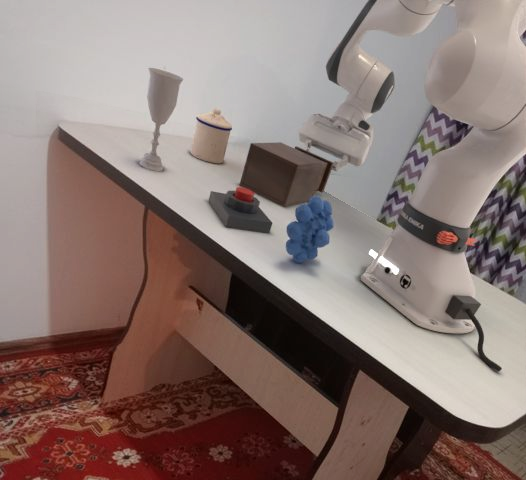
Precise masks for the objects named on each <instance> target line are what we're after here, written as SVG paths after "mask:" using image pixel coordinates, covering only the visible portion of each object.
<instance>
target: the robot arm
mask: <svg viewBox="0 0 526 480" xmlns="http://www.w3.org/2000/svg"><path fill="white" fill-rule="evenodd" d="M443 6H445V7H453V8H454V15H455V17H454V18H455V19H454V20H455V32H453V33H452V34H451V35H449V36H448V37H447V38H445V39H444V40H443V41H442V42H441V43H440V44H439V46H438V47H437V48H436V49H435V51H434V52H433V53H432V55H431V58H430V59H429V62H428V64H427V66H426V69H425V73H424V82H423V87H424V96H425V98H426V100H427V102H428V103H429V104H430V105H432V106H433V107H435V108H436V109H437V110H439V112H441V113H443V114H444V115H446V117H448V118H451V120H455V121H458V122H461V123H463V124H467V125H469V126H472V128H471V129H470V131H469V132H468V133H467V135H466V136H464V137H463V139H462V140H460V141H459V142H458V143H456V144H455V145H454V146H452V147H449V148H446V149H443V150H441V151H438V152H436V153H435V154H434V155H433V156H431V157H430V159H429V160H428V161H427V162H426V165H425V167H424V169H423V170H422V173H421V175H420V178H419V180H418V181H417V184H416V185H415V188H414V190H413V192H412V194H411V196H410V198H409V199H408V200H407V201H405V203H404V205H403V206H402V208H401V209H400V211H399V215H398V217H397V219H396V220H397V223H396V225H395V227H394V229H393V231H392V232H391V233H390V234H389V236H388V237H387V238H386V239H385V241H384V243H383V244H382V246H381V248H380V250H378V252H376V251H374V250H373V249H370V250H369V252H368V255H370V256H371V257H373V260H372V262H370V263H369V265H368V267H366V269H365V271H364V273H362V275H361V277H360V281H361V282H362V283H364V284H365V285H366V286H367V287H369V288H370V289H371V290H372V291H373V292H374V293H376V294H377V295H378V296H379V297H381V298H382V299H384V300H385V301H386V302H387V303H389V304H390V305H391V306H392V307H393V308H395V309H396V310H397V311H398V312H400V313H401V314H402V315H403V316H405V317H406V318H407V319H408V320H410V321H411V322H412V323H414V324H415V325H416V326H418V327H420V328H424V329H425V330H429V331H434V332H439V333H446V334H467V333H471V332H473V331H474V330H475V329H476V331H477V335H478V342H477V347H476V348H477V349H476V350H477V353H478V356H479V358H480V359H481V360H482V361H483V362H484V363H485V364H486V365H488V366H489V367H490V368H492V369H494V370H495V371H496V372H499V373H500V372H501V370H502V369H503V368H502V367H501V366H500V365H499V364H497V363H496V362H495V361H493V360H491V359H490V358H489V357H488V356H487V355H486V354H485V352H484V343H485V342H484V341H485V334H484V330H483V327H482V325H481V323H480V321H479V319H478V318H477V317H476V316H475V315H476V313H477V311H478V310H479V308H480V307H481V305H482V303H481V302H479V301H478V300H477V299H475V297H476V293H477V292H476V287H475V283H474V282H473V277H472V275H471V272H470V269H469V265H468V261H467V258H466V255H465V252H466V251H467V249H468V246H472V247H473V246H476V245H475V244H474V243H475V242H478V239H477V238H471V237H470V235H471V230H472V229H471V226H472V224H473V222H474V220H475V218H476V217H477V215H478V213H479V212H480V210H481V208H482V206H483V205H484V204H485V202H486V200H487V199H488V197H489V195H490V194H491V192H492V190H493V189H494V188H495V186H496V185H497V184H498V182H499V181H500V180H501V179H502V177H503V176H504V175H505V174H506V173H507V172H508V171H509V170H510V169H512V167H513V166H514V165H516V163H517V162H518V161H519V160H520V159H522V158H523V157H524V156H525V155H526V45H525V43H523V41H522V40H521V36H522V35H523V34H524V33H525V32H526V0H367V2H366V3H365V5H364V6H363V7H362V9H361V10H360V12H359V13H358V15H357V16H356V17H355V19H354V21H353V22H352V23H351V25H350V27H349V29H348V30H347V32H346V33H345V35H344V36H343V38H342V39H341V41H340V42H339V43H338V44H337V45H336V46H335V47H334V48H333V50H332V51H331V53H330V54H329V56H328V58H327V61H326V65H325V71H326V75H327V79H328V80H329V81H330V82H332V83H333V84H335V85H337V86H339V87H341V88H342V89H344V90H345V91H346V92H348V94H347V95H346V97H345V100H344V102H342V103H341V104H340V105H339V106H338V107H337V109H336V110H335V112H334V113H333V114H332V116H331V117H328V116H325V115H323V114H321V113H317V114H316V113H314V114H311V115H309V117H308V118H307V120H306V121H305V122H304V123H303V124H302V125H301V126H300V127H299V128H298V138H299V142H301V143H303V144H304V148H303V149H304V150H306V151H309V152H311V148H312V147H313V148H314V149H317V150H319V151H321V152H323V153H326V154H328V155H331V156H333V157H335V158H337V159H339V161H333V163H334V165H333V167H332V170H331V171H333V172H336V173H337V172H338V171H339V169H340V168H343V167H345V166H347V165H348V164H350V165H353V166H355V167H360V166H362V165H363V164H364V162H365V161H366V159H367V157H368V156H369V153H370V152H369V151H370V148H371V146H372V144H373V140H374V127H373V126H372V125H371V124H370V123H369V122H367V121H368V120H369V119H370V118H371V117H372V116H373V114H374V113H377V112H379V111H381V109H382V108H383V106H384V104H385V103H386V102H387V100H388V99H389V98H390V96H391V95H392V93H393V91H394V89H395V81H396V80H395V74H394V72H393V70H392V69H390V67H388V66H387V65H386V64H384V63H383V62H381V61H380V60H378V59H377V58H376V57H374V56H373V55H371V54H370V53H369V52H367V51H366V50H364V49H363V47H361V45H360V43H361V42H362V40H363V38H365V36H366V34H367V33H368V32H370V31H379V32H384V33H387V34H390V35H392V36H396V37H402V38H403V37H411V36H414V35H417V34H420V33H422V32H423V31H425V30H426V29H427V28H428V27H429V25H430V24H431V23H432V22H433V20H434V19H435V18H436V16H437V15H438V13H439V12H440V10H441V8H443Z"/></svg>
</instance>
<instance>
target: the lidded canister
mask: <svg viewBox="0 0 526 480" xmlns="http://www.w3.org/2000/svg"><path fill="white" fill-rule="evenodd" d="M195 119H196V123H195V128H194V132H193V138H192V143H191V147H190V154H191V155H192V156H193V157H195V158H196V159H198V160H201V161H204V162H206V163H212V164H222V163H223V162H224V159H225V156H226V151H227V147H228V143H229V139H230V134H231V131H232V130H233V128H232V127H233V126H232V124H231V123H230V122H229V121H228V120H227V119H226V118H225V117H224V116H223V115H222V110H220V109H219V108H216V107H215V108H213V109H212V111H207V112H206V113H199V114H197V116H196V117H195Z"/></svg>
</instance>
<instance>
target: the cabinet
mask: <svg viewBox="0 0 526 480" xmlns="http://www.w3.org/2000/svg"><path fill="white" fill-rule="evenodd" d="M294 148H295V147H292V146H290V145H287V144H286V143H283V142H281V141H280V142H279V141H278V142H250V144H249V148H248V152H247V155H246V160H245V163H244V167H243V170H242V174H241V179H240V182H239V187H243V188H247V189H249V190H251V191H253V192H254V194H257V195H258V196H261V197H263V198H265V199H267V200H269V201H271V202H273V203H274V204H277V205H278V206H281V207H283V208H286V207H287V208H288V207H290V206H294V205H298V204H301V203H305V202H308V200H309V199H310V198H312V197H313V194H314V192H313V191H314V188H315V186H316V183H317V180H318V177H319V175H320V172H321V169H322V166H323V164H324V162H323V161H321V160H319V159H317V158H314V157H312V156H310V155H308V154H305V153H303V152H301V151H299V150H297V149H294Z"/></svg>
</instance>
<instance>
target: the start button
mask: <svg viewBox="0 0 526 480" xmlns="http://www.w3.org/2000/svg"><path fill="white" fill-rule="evenodd" d="M234 191H235V194H234V197H236V198H237V199H239V200H242V201H246V202H252V200H253V197H255V193H254V192H253V191H251V190H249V189H247V188H244V187H242V186H237V187H236V188H235V190H234Z"/></svg>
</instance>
